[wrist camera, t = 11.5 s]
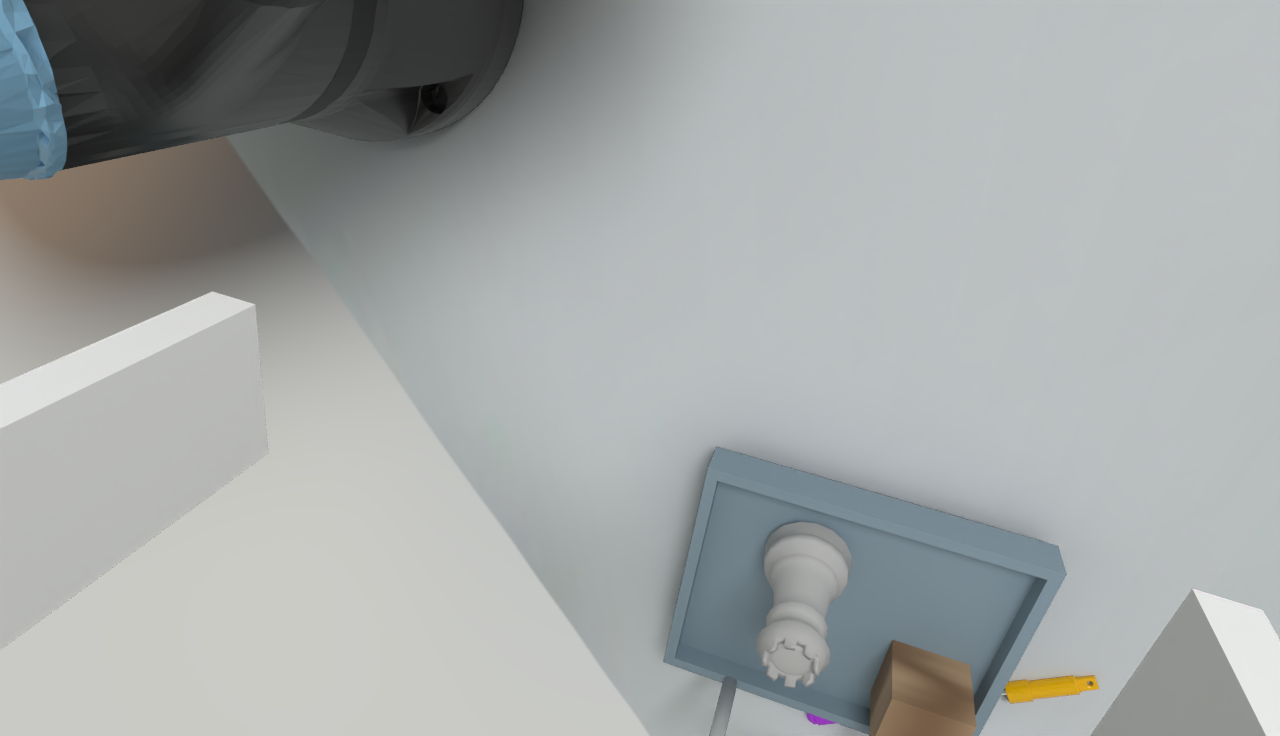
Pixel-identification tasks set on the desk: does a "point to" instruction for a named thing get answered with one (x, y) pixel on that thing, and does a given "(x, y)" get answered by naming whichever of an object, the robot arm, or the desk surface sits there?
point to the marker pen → (1027, 691)
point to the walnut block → (921, 695)
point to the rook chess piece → (801, 599)
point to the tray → (854, 590)
